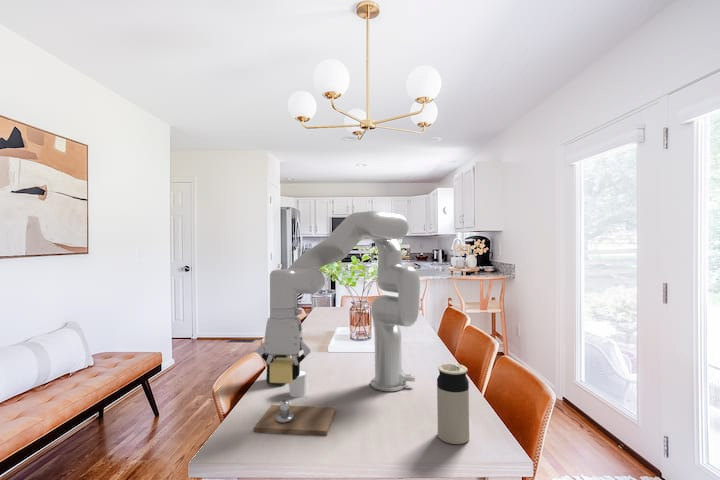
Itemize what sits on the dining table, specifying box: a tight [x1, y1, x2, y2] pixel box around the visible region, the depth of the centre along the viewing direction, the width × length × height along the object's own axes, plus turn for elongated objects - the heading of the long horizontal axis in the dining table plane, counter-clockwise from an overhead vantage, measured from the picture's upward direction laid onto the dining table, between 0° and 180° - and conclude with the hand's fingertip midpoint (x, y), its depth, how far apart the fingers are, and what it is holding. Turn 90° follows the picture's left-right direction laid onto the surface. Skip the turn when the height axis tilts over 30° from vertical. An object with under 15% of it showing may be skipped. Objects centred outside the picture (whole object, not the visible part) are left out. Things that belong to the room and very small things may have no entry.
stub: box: [276, 399, 293, 424], centre depth 105 cm, size 5×5×5 cm
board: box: [253, 404, 337, 436], centre depth 107 cm, size 20×14×1 cm
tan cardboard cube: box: [270, 357, 294, 384], centre depth 105 cm, size 6×6×5 cm
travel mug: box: [436, 362, 470, 445], centre depth 97 cm, size 8×8×18 cm
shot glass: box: [288, 369, 309, 398], centre depth 126 cm, size 7×7×7 cm
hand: (283, 377), depth 105 cm, fingers closed on tan cardboard cube, 6 cm apart
